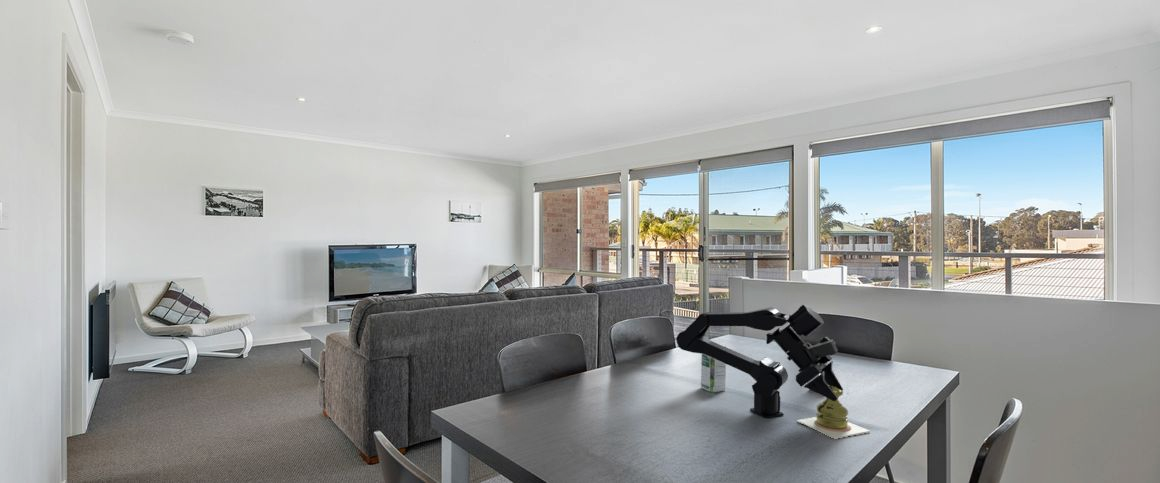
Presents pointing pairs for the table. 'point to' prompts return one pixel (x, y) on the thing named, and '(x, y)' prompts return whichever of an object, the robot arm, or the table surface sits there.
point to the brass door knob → (832, 412)
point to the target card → (834, 433)
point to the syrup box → (712, 374)
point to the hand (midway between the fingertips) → (838, 395)
